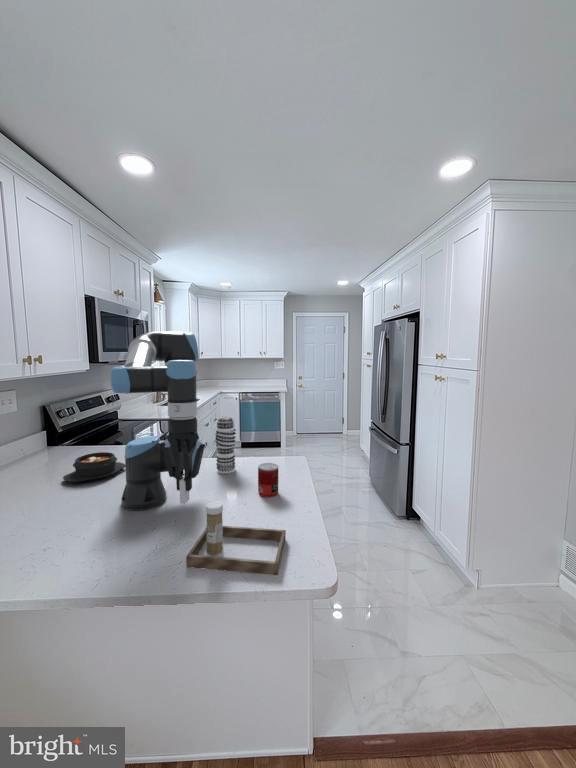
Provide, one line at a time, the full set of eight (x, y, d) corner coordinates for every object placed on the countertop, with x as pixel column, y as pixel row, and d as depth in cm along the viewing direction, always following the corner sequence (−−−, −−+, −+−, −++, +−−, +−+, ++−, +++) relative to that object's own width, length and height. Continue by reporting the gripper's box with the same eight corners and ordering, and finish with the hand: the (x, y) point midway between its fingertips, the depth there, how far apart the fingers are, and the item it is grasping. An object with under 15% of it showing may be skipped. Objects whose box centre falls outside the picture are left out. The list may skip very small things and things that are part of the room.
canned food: (275, 498, 125) (275, 470, 123) (255, 496, 126) (255, 468, 125) (280, 490, 132) (280, 463, 131) (261, 488, 134) (261, 462, 133)
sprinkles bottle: (203, 551, 91) (202, 504, 90) (216, 543, 95) (215, 499, 93) (213, 557, 88) (212, 509, 87) (226, 550, 92) (226, 503, 90)
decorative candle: (237, 472, 151) (237, 418, 149) (217, 474, 148) (216, 420, 145) (233, 466, 160) (233, 415, 157) (214, 468, 156) (213, 416, 154)
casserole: (77, 490, 131) (75, 469, 130) (54, 480, 141) (53, 461, 140) (134, 471, 152) (134, 453, 151) (111, 463, 162) (111, 447, 161)
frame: (186, 567, 84) (186, 556, 84) (208, 534, 100) (208, 524, 99) (277, 575, 82) (277, 563, 81) (285, 539, 97) (285, 530, 97)
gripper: (152, 419, 86) (155, 506, 88) (200, 420, 84) (202, 509, 86) (166, 414, 93) (168, 494, 95) (210, 415, 92) (212, 497, 94)
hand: (184, 501), depth 91 cm, fingers closed
